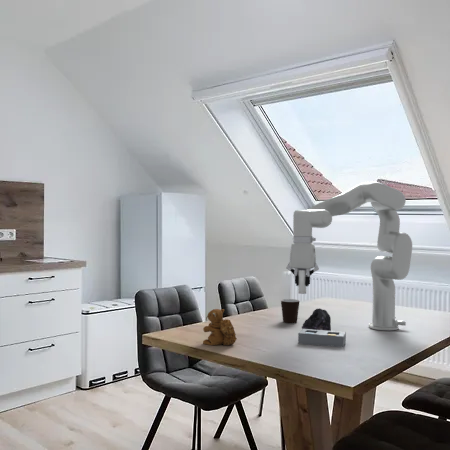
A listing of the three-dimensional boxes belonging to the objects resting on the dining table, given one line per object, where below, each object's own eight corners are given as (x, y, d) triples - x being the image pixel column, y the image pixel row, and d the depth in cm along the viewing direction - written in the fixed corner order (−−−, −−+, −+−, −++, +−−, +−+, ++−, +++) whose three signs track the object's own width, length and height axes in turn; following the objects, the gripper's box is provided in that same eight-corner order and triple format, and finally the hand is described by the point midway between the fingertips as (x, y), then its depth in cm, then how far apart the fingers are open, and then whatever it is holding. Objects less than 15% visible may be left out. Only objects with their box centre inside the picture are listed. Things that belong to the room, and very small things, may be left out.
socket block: (345, 342, 213) (345, 331, 213) (343, 347, 205) (343, 336, 205) (302, 338, 219) (302, 328, 219) (298, 343, 211) (298, 332, 211)
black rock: (308, 336, 226) (311, 313, 225) (295, 327, 239) (298, 305, 238) (337, 337, 230) (340, 314, 229) (323, 328, 243) (325, 306, 242)
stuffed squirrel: (215, 338, 218) (215, 305, 218) (243, 344, 209) (244, 310, 209) (198, 343, 210) (198, 309, 210) (227, 349, 201) (227, 313, 201)
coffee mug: (293, 324, 247) (293, 302, 247) (277, 322, 252) (277, 300, 252) (305, 320, 256) (306, 299, 256) (289, 318, 261) (290, 297, 261)
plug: (307, 293, 223) (307, 266, 223) (305, 294, 220) (305, 266, 220) (299, 292, 224) (299, 265, 224) (297, 293, 221) (297, 266, 221)
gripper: (324, 240, 222) (324, 285, 222) (285, 239, 228) (285, 283, 228) (321, 241, 215) (320, 287, 215) (280, 240, 221) (280, 286, 221)
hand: (302, 285), depth 222 cm, fingers closed on plug, 3 cm apart
